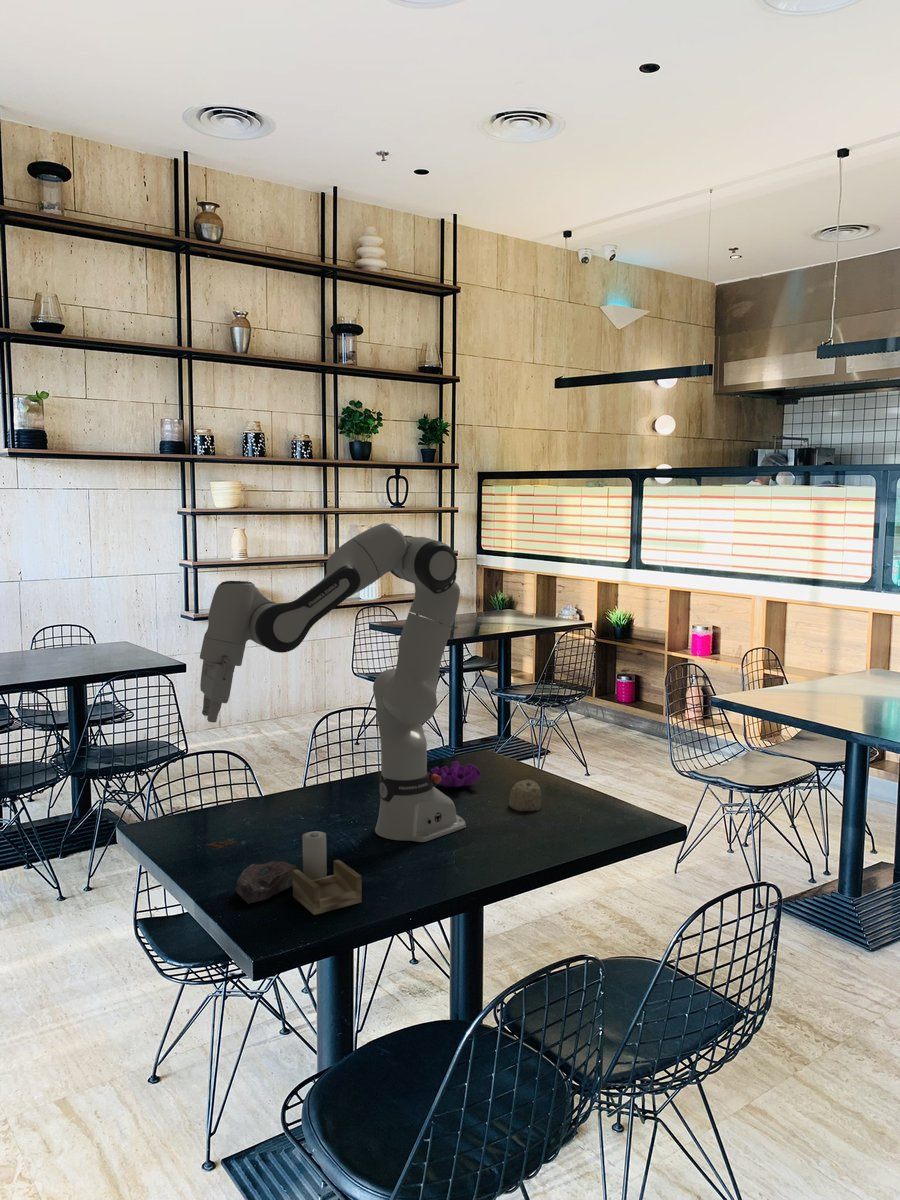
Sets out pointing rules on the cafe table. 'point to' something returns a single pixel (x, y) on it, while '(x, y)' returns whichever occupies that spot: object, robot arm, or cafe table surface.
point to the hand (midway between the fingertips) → (208, 718)
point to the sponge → (525, 796)
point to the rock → (264, 880)
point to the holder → (328, 889)
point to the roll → (314, 855)
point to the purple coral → (457, 775)
